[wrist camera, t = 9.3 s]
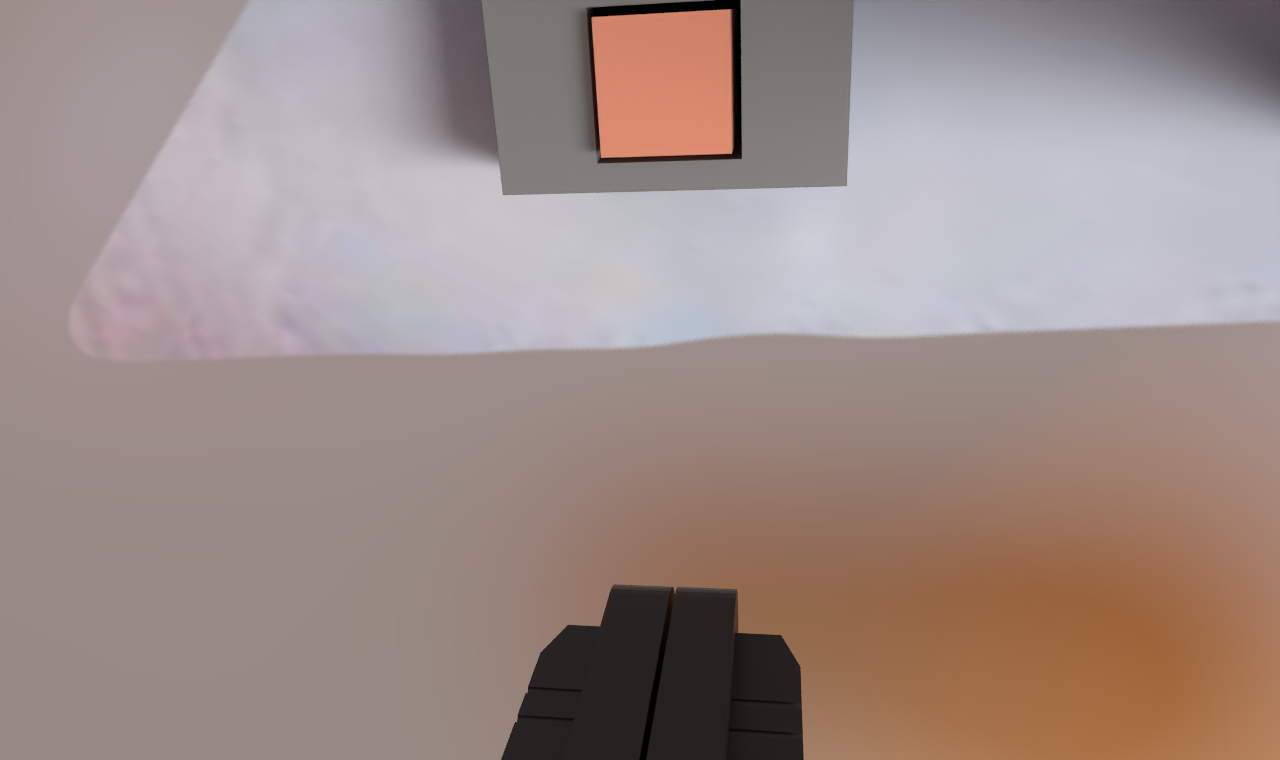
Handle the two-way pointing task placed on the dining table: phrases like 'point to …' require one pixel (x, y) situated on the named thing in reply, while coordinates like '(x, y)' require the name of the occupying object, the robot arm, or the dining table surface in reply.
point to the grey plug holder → (764, 158)
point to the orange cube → (666, 83)
